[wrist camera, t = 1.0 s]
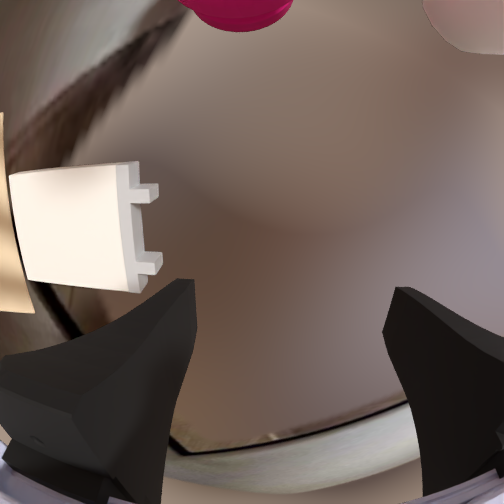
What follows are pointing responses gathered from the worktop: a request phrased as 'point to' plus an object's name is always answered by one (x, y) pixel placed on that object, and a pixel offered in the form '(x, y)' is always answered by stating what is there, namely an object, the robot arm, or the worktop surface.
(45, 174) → the white tabbed block
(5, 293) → the dock
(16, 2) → the worktop surface
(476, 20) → the foam cup
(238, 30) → the pepper mill
